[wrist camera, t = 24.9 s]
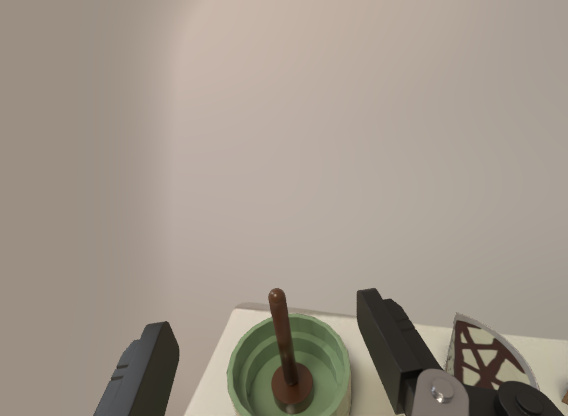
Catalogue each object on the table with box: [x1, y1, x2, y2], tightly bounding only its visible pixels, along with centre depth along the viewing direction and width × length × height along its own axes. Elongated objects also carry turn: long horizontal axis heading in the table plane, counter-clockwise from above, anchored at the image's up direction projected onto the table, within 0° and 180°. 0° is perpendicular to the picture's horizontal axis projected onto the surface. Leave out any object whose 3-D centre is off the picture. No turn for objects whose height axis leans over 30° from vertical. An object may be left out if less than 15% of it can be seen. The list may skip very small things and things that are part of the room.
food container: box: [445, 313, 540, 391], centre depth 24 cm, size 12×6×10 cm, turn 149°
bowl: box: [227, 314, 351, 416], centre depth 31 cm, size 13×13×6 cm
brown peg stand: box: [268, 288, 314, 414], centre depth 28 cm, size 5×5×16 cm
